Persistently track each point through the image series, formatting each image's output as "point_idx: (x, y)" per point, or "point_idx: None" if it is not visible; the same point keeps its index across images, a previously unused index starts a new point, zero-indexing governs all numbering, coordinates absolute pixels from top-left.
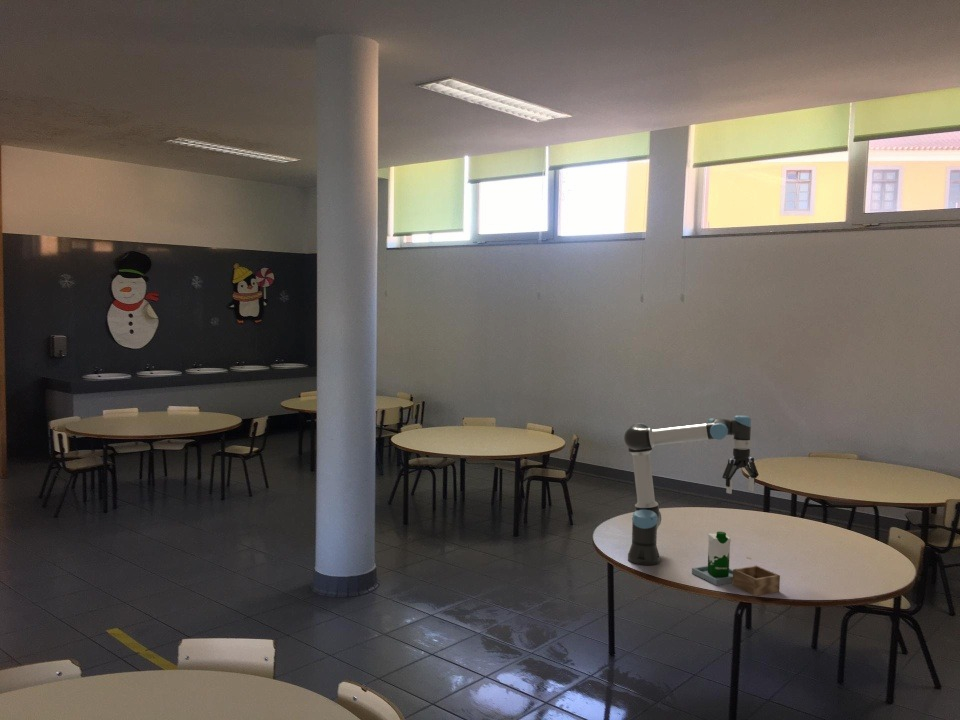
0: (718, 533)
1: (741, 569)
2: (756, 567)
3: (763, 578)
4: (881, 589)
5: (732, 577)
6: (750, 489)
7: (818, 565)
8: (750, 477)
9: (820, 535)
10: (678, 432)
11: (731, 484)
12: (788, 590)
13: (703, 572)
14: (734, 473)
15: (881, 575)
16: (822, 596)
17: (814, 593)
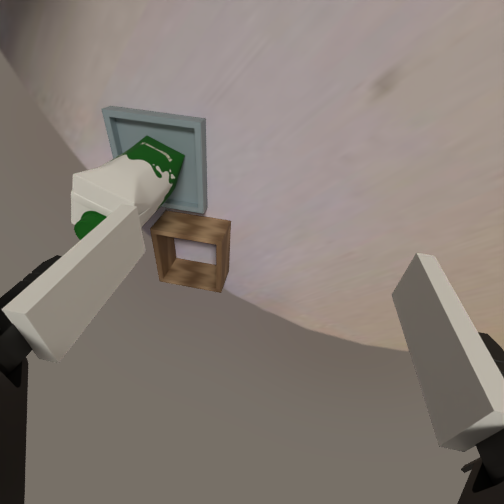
0: (76, 234)
1: (171, 236)
2: (216, 243)
3: (178, 284)
4: (400, 344)
5: (169, 207)
6: (406, 287)
7: (478, 237)
8: (479, 426)
9: None
10: None
11: (87, 316)
12: (249, 275)
13: (117, 152)
14: (20, 484)
15: (499, 327)
16: (278, 311)
17: (278, 301)
